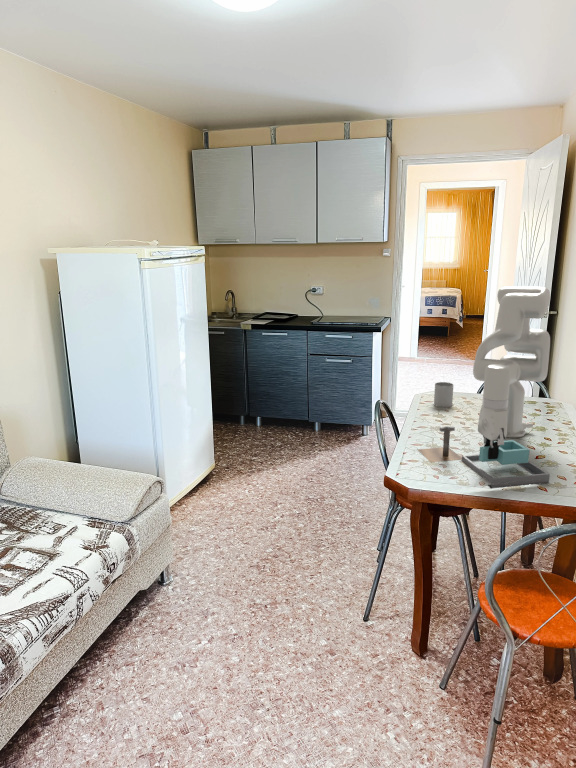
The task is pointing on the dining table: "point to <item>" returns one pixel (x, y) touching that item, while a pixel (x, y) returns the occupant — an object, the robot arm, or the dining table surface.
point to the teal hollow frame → (507, 453)
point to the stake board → (441, 449)
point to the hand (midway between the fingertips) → (490, 456)
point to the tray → (536, 476)
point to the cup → (443, 394)
